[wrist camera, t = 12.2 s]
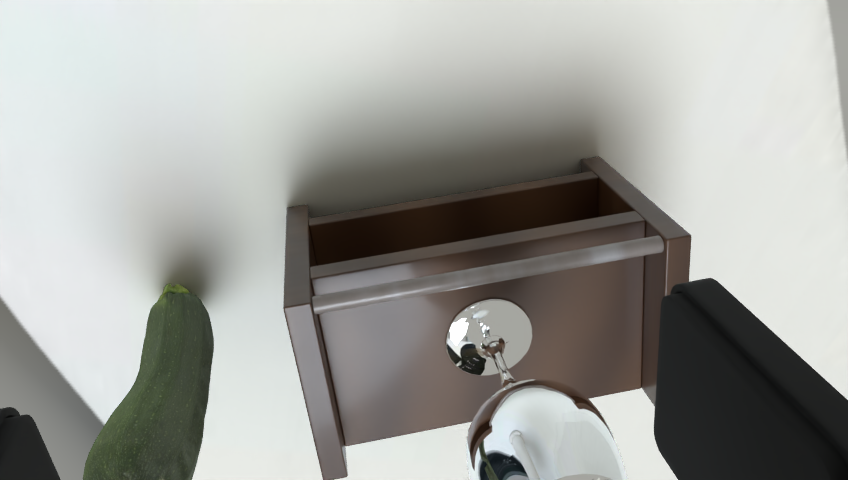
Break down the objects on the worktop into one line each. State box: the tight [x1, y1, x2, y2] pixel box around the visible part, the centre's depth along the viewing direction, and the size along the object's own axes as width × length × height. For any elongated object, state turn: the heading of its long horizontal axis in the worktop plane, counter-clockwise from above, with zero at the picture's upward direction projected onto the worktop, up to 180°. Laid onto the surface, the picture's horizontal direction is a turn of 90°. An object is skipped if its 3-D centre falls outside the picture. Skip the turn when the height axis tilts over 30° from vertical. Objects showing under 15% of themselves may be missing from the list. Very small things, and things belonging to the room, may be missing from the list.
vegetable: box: [83, 284, 214, 480], centre depth 34 cm, size 4×4×20 cm
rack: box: [283, 157, 691, 480], centre depth 39 cm, size 18×10×11 cm, turn 97°
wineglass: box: [445, 299, 628, 480], centre depth 31 cm, size 6×6×12 cm
